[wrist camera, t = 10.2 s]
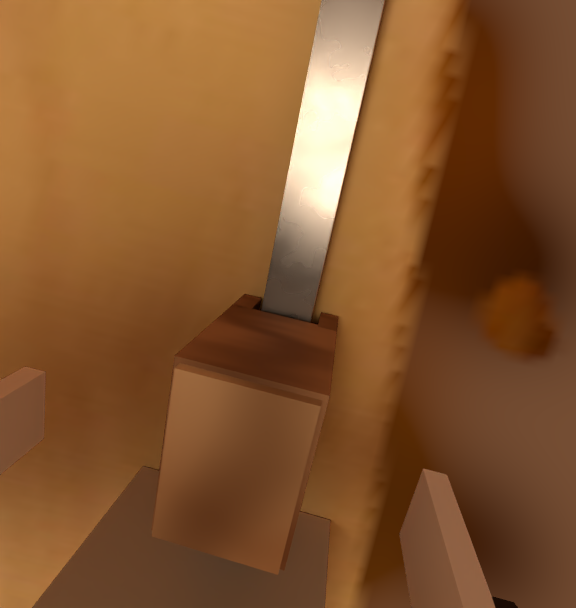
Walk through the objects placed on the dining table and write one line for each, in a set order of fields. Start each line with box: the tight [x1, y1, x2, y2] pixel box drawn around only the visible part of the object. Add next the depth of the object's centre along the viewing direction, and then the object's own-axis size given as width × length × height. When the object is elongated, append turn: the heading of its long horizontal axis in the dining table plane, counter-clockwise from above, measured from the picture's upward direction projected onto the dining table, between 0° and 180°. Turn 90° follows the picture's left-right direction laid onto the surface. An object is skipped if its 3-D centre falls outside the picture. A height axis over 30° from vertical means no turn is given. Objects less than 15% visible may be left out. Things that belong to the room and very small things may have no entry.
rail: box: [261, 0, 386, 323], centre depth 17 cm, size 4×41×4 cm, turn 168°
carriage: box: [151, 294, 338, 575], centre depth 17 cm, size 5×7×9 cm
